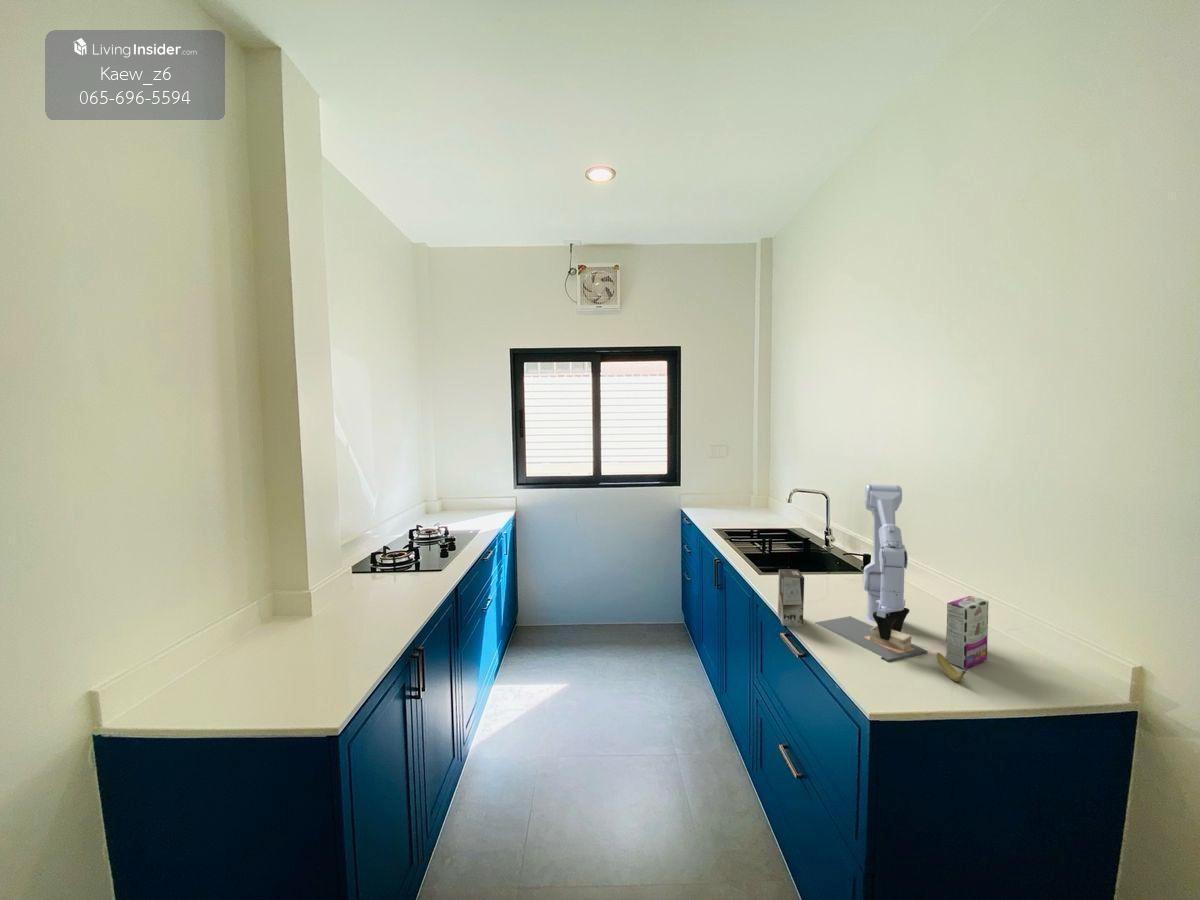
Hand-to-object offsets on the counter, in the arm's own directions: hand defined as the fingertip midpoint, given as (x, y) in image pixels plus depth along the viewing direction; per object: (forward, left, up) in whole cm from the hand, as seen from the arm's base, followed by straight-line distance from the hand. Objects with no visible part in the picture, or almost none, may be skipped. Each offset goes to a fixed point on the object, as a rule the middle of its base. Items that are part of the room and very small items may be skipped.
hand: (890, 635), depth 141 cm
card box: (0, 0, -2) cm, 2 cm away
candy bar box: (-10, +14, -3) cm, 18 cm away
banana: (+2, +18, -3) cm, 18 cm away
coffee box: (+16, -23, -3) cm, 28 cm away
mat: (+2, -6, -3) cm, 7 cm away
